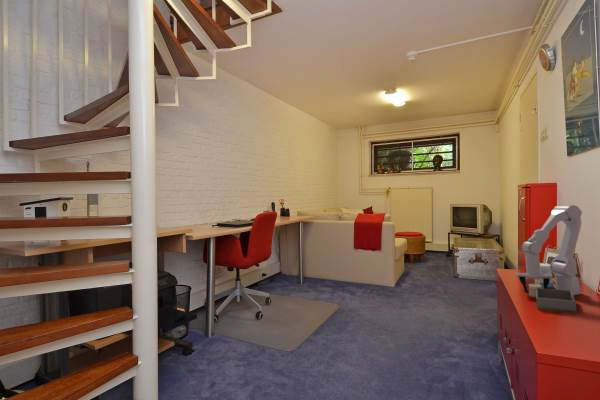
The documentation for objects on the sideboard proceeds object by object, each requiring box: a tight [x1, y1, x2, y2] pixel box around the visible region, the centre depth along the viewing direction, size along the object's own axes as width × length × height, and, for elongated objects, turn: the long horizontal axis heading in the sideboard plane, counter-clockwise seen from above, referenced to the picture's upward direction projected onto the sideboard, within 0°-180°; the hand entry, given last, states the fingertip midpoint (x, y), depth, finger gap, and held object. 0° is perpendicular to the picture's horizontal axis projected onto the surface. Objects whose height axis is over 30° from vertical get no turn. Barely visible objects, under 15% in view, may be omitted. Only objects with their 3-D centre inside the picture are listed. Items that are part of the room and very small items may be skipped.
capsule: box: [522, 278, 536, 293], centre depth 165 cm, size 5×5×7 cm
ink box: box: [534, 262, 554, 289], centre depth 171 cm, size 9×5×12 cm, turn 168°
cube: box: [528, 284, 542, 298], centre depth 157 cm, size 5×5×5 cm
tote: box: [535, 287, 577, 314], centre depth 142 cm, size 17×13×5 cm
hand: (535, 292), depth 157 cm, fingers open, 7 cm apart
